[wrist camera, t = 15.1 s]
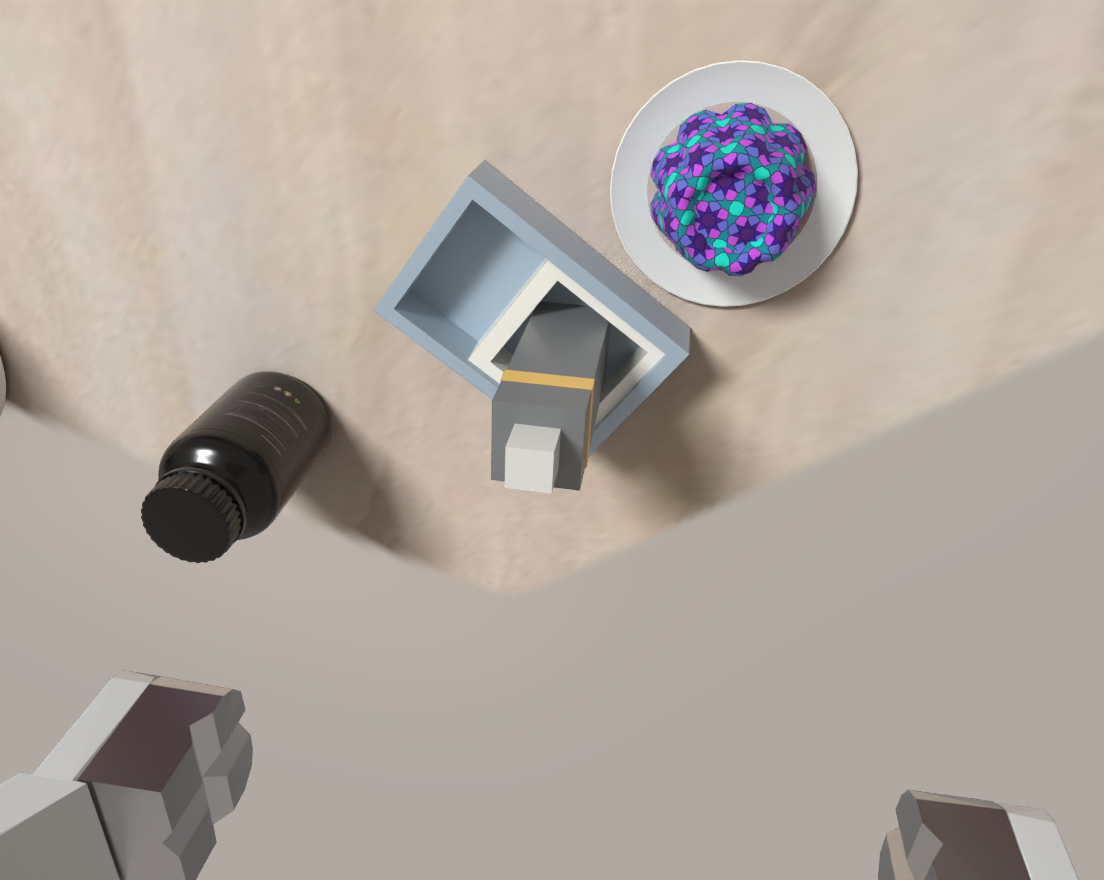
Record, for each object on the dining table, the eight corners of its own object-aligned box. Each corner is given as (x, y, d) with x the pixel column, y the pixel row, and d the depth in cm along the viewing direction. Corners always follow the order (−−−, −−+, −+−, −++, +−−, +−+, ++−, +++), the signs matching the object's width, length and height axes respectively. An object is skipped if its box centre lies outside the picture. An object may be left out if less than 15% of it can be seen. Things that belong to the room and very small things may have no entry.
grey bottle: (535, 368, 49) (480, 505, 37) (537, 300, 47) (480, 421, 35) (606, 376, 48) (575, 517, 36) (612, 307, 46) (581, 432, 34)
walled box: (394, 287, 48) (373, 310, 45) (484, 159, 44) (468, 175, 41) (587, 434, 51) (579, 465, 48) (690, 327, 47) (689, 354, 44)
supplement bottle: (309, 481, 56) (220, 601, 45) (215, 427, 55) (102, 537, 44) (352, 406, 52) (266, 517, 42) (252, 346, 51) (140, 444, 41)
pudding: (662, 21, 40) (657, 29, 35) (902, 110, 40) (927, 130, 36) (580, 256, 46) (567, 290, 41) (788, 332, 46) (798, 373, 42)
